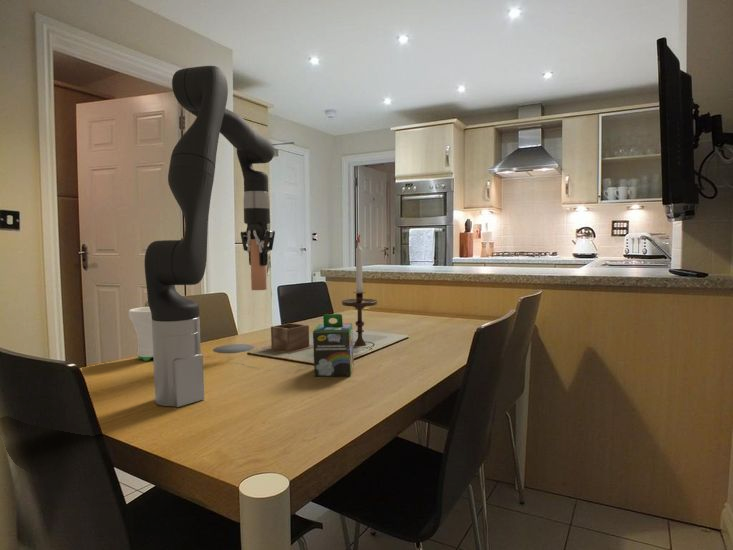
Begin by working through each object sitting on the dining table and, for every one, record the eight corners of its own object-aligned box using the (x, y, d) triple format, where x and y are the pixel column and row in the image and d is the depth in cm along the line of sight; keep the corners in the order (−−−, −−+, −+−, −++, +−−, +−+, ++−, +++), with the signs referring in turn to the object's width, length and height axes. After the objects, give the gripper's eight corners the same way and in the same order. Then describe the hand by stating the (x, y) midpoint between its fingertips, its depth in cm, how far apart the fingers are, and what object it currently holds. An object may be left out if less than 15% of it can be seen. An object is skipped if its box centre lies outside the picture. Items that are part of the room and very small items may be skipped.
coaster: (262, 349, 144) (262, 347, 144) (229, 357, 135) (229, 355, 135) (238, 345, 152) (238, 342, 152) (204, 352, 142) (204, 349, 142)
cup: (160, 351, 144) (158, 305, 143) (181, 356, 137) (179, 307, 136) (123, 359, 135) (120, 309, 134) (144, 365, 128) (141, 312, 127)
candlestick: (378, 351, 141) (376, 232, 138) (341, 351, 141) (339, 233, 138) (377, 343, 152) (376, 233, 149) (343, 343, 152) (341, 233, 149)
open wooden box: (318, 348, 145) (318, 325, 144) (289, 356, 136) (288, 331, 135) (291, 343, 152) (291, 321, 152) (262, 350, 143) (261, 327, 142)
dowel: (269, 289, 142) (268, 239, 141) (257, 290, 139) (256, 239, 138) (260, 288, 145) (259, 239, 144) (248, 289, 142) (247, 239, 141)
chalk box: (354, 366, 124) (353, 310, 123) (351, 377, 115) (350, 316, 114) (318, 366, 124) (317, 310, 123) (313, 377, 115) (311, 316, 114)
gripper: (282, 206, 139) (283, 265, 140) (252, 209, 148) (253, 264, 149) (261, 205, 133) (262, 266, 134) (231, 208, 142) (233, 265, 143)
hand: (258, 265), depth 142 cm, fingers closed on dowel, 4 cm apart
